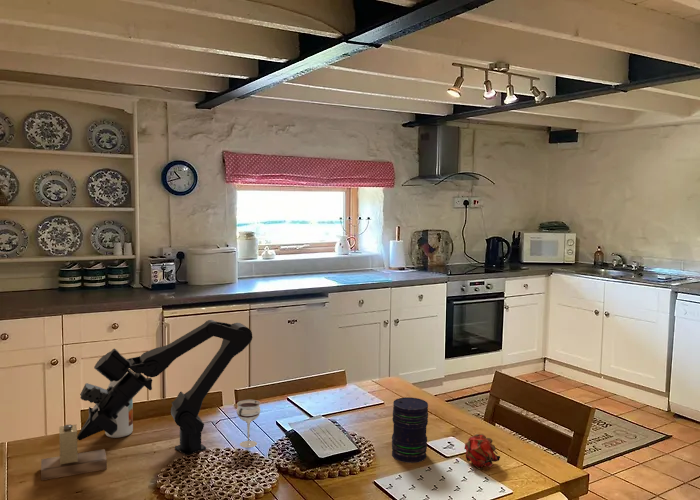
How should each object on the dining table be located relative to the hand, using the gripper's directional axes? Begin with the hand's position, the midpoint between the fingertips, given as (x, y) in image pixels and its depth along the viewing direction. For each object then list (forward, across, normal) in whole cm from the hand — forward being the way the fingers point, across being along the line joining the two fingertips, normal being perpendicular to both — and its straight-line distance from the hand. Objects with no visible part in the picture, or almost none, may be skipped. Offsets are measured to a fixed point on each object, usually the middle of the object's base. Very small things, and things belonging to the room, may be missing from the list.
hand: (78, 438), depth 149 cm
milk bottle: (-3, -20, +14) cm, 24 cm away
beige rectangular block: (+5, 0, +2) cm, 5 cm away
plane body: (+6, 0, +5) cm, 8 cm away
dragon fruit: (-64, +42, +74) cm, 107 cm away
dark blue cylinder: (-54, +28, +64) cm, 88 cm away
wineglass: (-26, +3, +37) cm, 45 cm away
